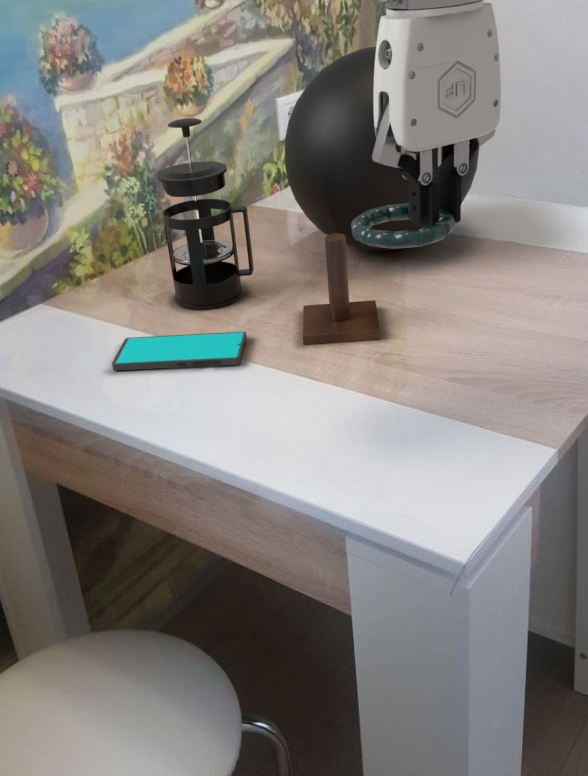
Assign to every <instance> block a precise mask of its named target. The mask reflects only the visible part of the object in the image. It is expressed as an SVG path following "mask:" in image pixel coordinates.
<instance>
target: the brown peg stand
mask: <svg viewBox="0 0 588 776" xmlns="http://www.w3.org/2000/svg"><path fill="white" fill-rule="evenodd" d="M324 246H325V247H324V248H325V261H326V275H327V291H328V292H327V293H328V303H321V304H320V303H319V304H306V305H303V306H302V307H303V309H302V345H316V344H317V345H319V344H331V343H345V342H346V343H347V342H356V341H357V342H359V341H372V340H373V341H375V340H376V341H377V340H381V327H380V321H379V315H378V309H377V302H376V300H375V299H374V300H361V301H350V289H349V271H348V270H349V269H348V255H347V254H348V253H347V245H346V236H345V235H344V234H339V233H336V234H330V235H327V234H326V235H325V236H324Z"/></svg>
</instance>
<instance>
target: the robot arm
mask: <svg viewBox="0 0 588 776" xmlns="http://www.w3.org/2000/svg"><path fill="white" fill-rule="evenodd" d="M376 2H377V3H384V5H385V6H384V7H385V10H386V12H385V13H386V14H385V15H382V16H380V20H379V25H378V31H377V36H376V37H377V39H376V45H375V47H376V54H375V67H374V93H373V103H374V126H375V133H376V138H377V139H376V142H375V146H374V150H373V154H372V160H373V161H374V162H376V163H379V164H383V165H387V166H391V167H395V168H396V169H397V170H398V171H399V172H400V173H401V174H402V177H403V178H404V179H406V180H408V181H409V214H410V219H411V222H412V224H415V225H417V226H420V227H423V228H424V227H428V226H431V225H435V224H436V223H437V220H438V207H440V208H443V209H446V210H448V211H450V212H451V214H452V216H453V218H454V220H455V223H456V224H457V223H460V222H461V219H462V217H461V216H462V204H461V187H462V176H463V175H465V174H466V173H467V171H468V168H469V161H470V160H471V158H472V157H473V155H474V154H475V152H476V151H477V149H478V147H479V148H480V147H482V146H483V145H484V144H485V143H487V142H488V141H490V139H492V138H493V137H494V136H495V134H496V128H497V127H498V126H499V123H500V119H501V107H502V106H501V105H502V101H501V99H502V96H501V95H502V88H501V87H502V86H501V85H502V83H501V58H500V46H499V37H498V29H497V23H496V18H495V11H494V7H493V4H492V3H491V2H485V0H376ZM396 143H397V144H398V145H400V146H401V153H400V152H397V150H396ZM453 144H454V145H453ZM434 148H438V168H439V171H434V172H433V176H432V149H434ZM416 154H417V161H416ZM431 181H432V182H431Z"/></svg>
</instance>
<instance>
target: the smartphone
mask: <svg viewBox="0 0 588 776" xmlns="http://www.w3.org/2000/svg"><path fill="white" fill-rule="evenodd" d="M247 338H248V337H247V332H246V331H229V332H228V331H227V332H209V333H208V332H207V333H192V334H174V335H173V334H172V335H151V336H132V337H131V336H130V337H126V338H124V340H123V342H122V344H121V345H120V347H119V349H118V351H117V353H116V355H115V357H114V358H113V360H112V362H111V367H112V370H113V371H126V370H127V371H128V370H129V371H130V370H150V369H169V368H171V369H172V368H190V367H211V366H212V367H213V366H214V367H215V366H230V365H231V366H234V365H239V364H241V361H242V359H243V354H244V350H245V347H246V342H247Z"/></svg>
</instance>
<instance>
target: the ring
mask: <svg viewBox="0 0 588 776" xmlns="http://www.w3.org/2000/svg"><path fill="white" fill-rule="evenodd" d="M406 219H410V214H409V203H405V204H394V205H385V206H382V207H378V208H374V209H371V210H367V211H365V212H364V213H362V214H361V215H359V216H358V217H356V218H355V219H354V220H353V221H352V223H351V229H352V235H353V237H354V238H355V239H356V240H357V241H360V242H362V243H364V244H367V245H369V246H372V247H382V248H392V249H393V250H399V249H407V248H419V247H420V248H421V247H424V246H427V245H430V244H433V243H437V242H440V241H443V240H444V239H445V238H446V237H447V236H449V235H450V234H451V233H452V232H453V231H454V230H455V229H456V224H457V223H455V220H454V218H453V216H452V214H451V212H450V211H448V210H446V209H443V208H440V207H438V220H437V223H436V224H435V225H431V226H428V227H424V228H421V229H417V230H406V231H384V230H375V229H373V228H370V227H371V226H373V225H376V224H380V223H383V222H387V221H395V220H406Z"/></svg>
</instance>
